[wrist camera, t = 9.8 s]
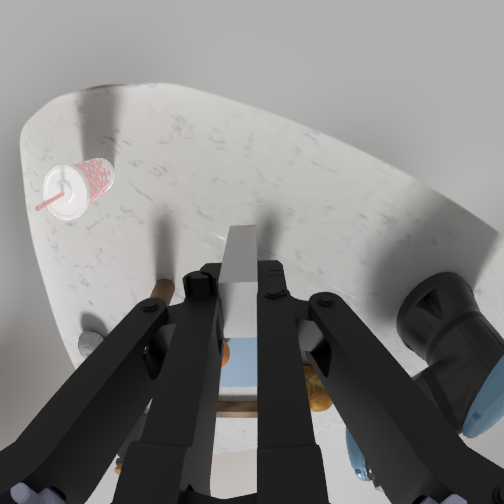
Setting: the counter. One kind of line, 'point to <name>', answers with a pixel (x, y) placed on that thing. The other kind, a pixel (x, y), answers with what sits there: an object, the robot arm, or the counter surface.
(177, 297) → the counter surface
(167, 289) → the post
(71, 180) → the beverage cup
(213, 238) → the counter surface
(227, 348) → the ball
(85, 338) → the garlic
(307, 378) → the bread roll
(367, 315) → the counter surface
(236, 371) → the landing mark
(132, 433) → the bottle
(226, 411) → the bar
